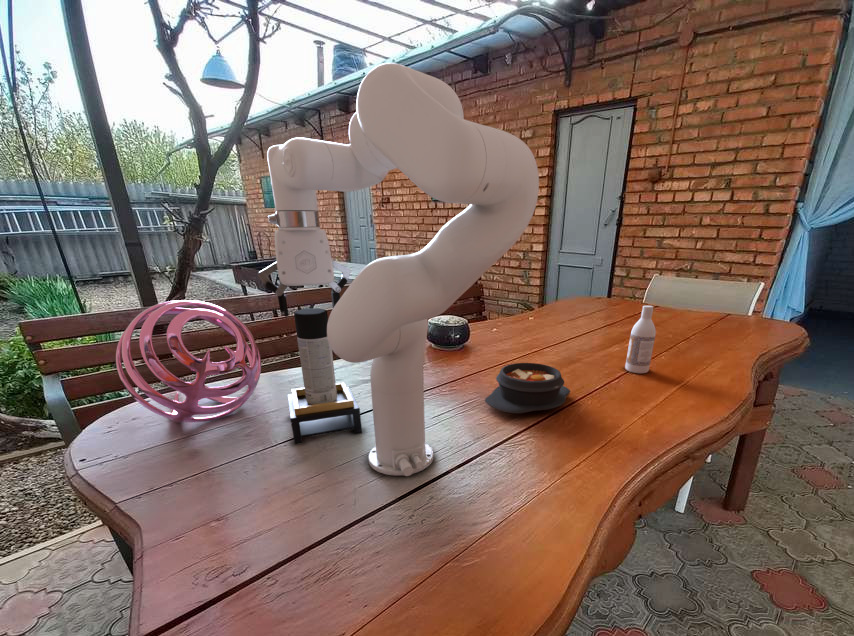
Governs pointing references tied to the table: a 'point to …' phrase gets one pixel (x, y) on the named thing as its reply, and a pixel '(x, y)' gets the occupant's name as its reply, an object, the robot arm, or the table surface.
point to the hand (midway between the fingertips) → (311, 313)
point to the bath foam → (641, 343)
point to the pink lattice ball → (190, 362)
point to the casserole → (528, 388)
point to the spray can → (315, 355)
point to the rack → (323, 414)
